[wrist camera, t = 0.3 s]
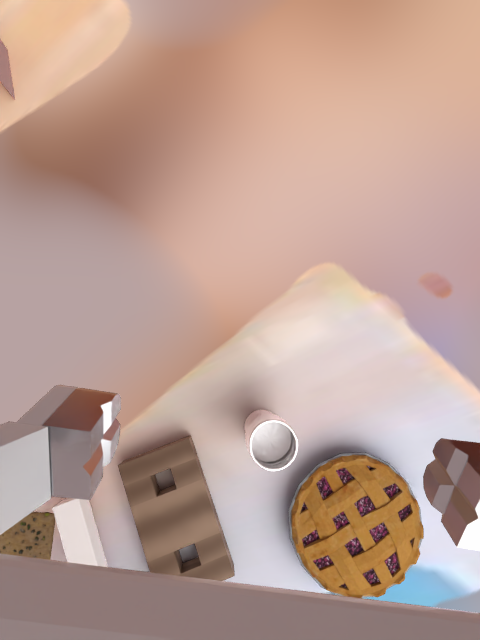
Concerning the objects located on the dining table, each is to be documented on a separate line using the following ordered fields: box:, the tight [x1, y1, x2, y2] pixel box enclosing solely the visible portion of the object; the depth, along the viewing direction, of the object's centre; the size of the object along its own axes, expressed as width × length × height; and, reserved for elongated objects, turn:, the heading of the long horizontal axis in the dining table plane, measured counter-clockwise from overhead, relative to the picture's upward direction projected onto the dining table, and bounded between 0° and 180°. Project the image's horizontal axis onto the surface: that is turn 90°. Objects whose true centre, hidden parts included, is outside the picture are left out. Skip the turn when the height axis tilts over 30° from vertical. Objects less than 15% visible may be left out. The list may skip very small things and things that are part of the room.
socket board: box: [118, 435, 234, 581], centre depth 56 cm, size 22×12×3 cm, turn 20°
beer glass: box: [244, 409, 298, 471], centre depth 53 cm, size 7×7×15 cm
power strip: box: [53, 498, 108, 567], centre depth 53 cm, size 18×4×6 cm, turn 20°
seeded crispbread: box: [0, 512, 55, 560], centre depth 56 cm, size 12×12×1 cm
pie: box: [288, 452, 423, 598], centre depth 57 cm, size 22×22×5 cm
